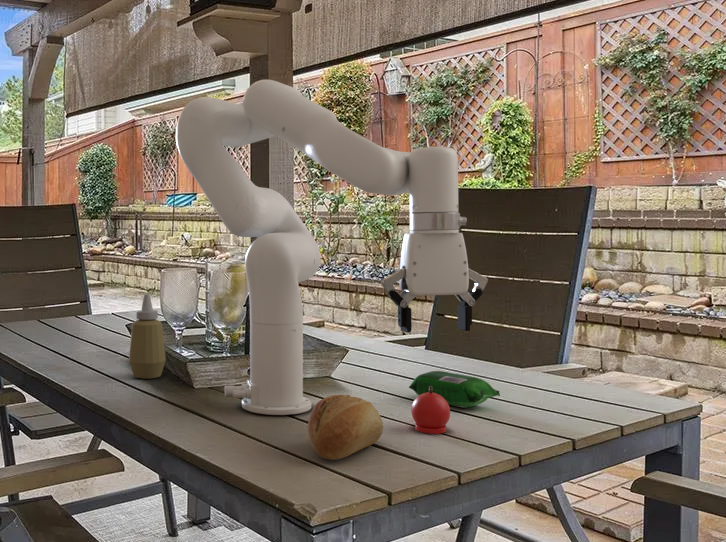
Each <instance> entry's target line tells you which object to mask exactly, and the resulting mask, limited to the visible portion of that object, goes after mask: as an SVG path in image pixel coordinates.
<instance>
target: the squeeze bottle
mask: <svg viewBox="0 0 726 542" xmlns="http://www.w3.org/2000/svg"><path fill="white" fill-rule="evenodd" d="M158 312H159V311H158V310H154V308H153V304H152V300H151V294H147V293H145V294H143V298H142V304H141V308H140V310H136V312H135V313H136V314H135V315H136V320H134V321H133V322H132V323H131V324H132V325H131V332H130V342H129V343H130V344H129V354H128V362H129V366H130V368H131V371H132V374H133V377H134V378H136V379H143V380H149V379H156V378H160V377H161V376H162V374H163V370H164V367H165V364H166V360H167V359H166V348H165V340H164V329H163V323H162V321H160V320H159V319H158V318H159V317H158V316H159V313H158Z"/></svg>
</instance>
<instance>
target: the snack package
mask: <svg viewBox="0 0 726 542" xmlns="http://www.w3.org/2000/svg"><path fill="white" fill-rule="evenodd" d="M429 386H432V393H436V394H439V395H440V396H442V397H443V398H444V399H445V400H446V401H447V403H448V405H449V406H451V407H457V408H465V409H468V408H471V407H474V406H477V405H480V404H482V403H485V402H486V401H487V400H488V399H489V398H493V397H496V396H498V397H501V394H500V390H496V389H495V388H494V387H492V385H491V384H490V383H489V382H488V381H486V380H484V379H481V378H479V377H476V376H470V375H465V374H459V373H453V372H448V371H442V370H432V371H428V372H425V373H421V374H419V375H417V376H416V377H415V378H414V379H413V380H412V382H411V383H410V384H409V386H408V388H409V389H410V390H412V391H413V392H414V393H415V394H416V395H417V397H418V396H419V395H421V394H423V393H427V392H429Z"/></svg>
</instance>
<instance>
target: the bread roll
mask: <svg viewBox="0 0 726 542" xmlns="http://www.w3.org/2000/svg"><path fill="white" fill-rule="evenodd" d="M383 431H384V425H383V419H382V417H381V415H380V413H379V411H378V409H377V408H376V407H375V406H374V405H373V403H371V402H370V401H367V400H365V399H363V398H361V397H357V396H351V395H350V394H332V395H328V396H326V397H324V398H322V399H319V401H318V402H316V403H315V405H314V406H313V408H312V411H311V412H310V414H309V418H308V422H307V434H308V438H309V442H310V445H311V447H312V449H313V450H314V451H315V454H317V455H318V456H319V457H321V458H322V459H325V460H331V461H332V460H333V461H334V460H341V459H344V458H346V457H348V456H350V455H352V454H355V453H357V452H359V451H361V450H363V449H365V448H368V447H370V446H372V445H374V444H376V443H377V442H378V441H379V439H381V437H382V435H383Z"/></svg>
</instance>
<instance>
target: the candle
mask: <svg viewBox="0 0 726 542" xmlns="http://www.w3.org/2000/svg"><path fill="white" fill-rule="evenodd" d="M410 411H411V416H412V419H413V421H414V422H415V424H414V429H415V431H417V432H419V433H423V434H430V435H441V434H444V433H446V432H447V425H448V422H449V420H450V418H451V407H450V405H448V403H447V401H446V400H445V399H444V398H443V397H442V396H440V395H439V394H436V393H432V386H429V392H427V393H423V394H421V395H419V396H418V395H417V397H416V398H414V400H413V402H412V404H411V410H410Z"/></svg>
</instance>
